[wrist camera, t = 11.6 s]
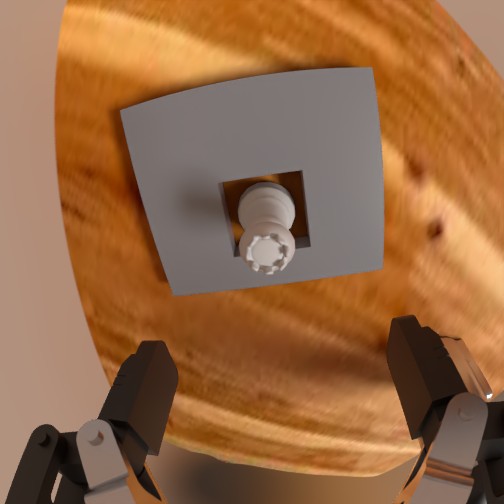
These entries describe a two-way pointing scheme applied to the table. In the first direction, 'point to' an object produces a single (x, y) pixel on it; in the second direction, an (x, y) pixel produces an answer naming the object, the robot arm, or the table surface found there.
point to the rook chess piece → (266, 227)
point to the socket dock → (261, 173)
